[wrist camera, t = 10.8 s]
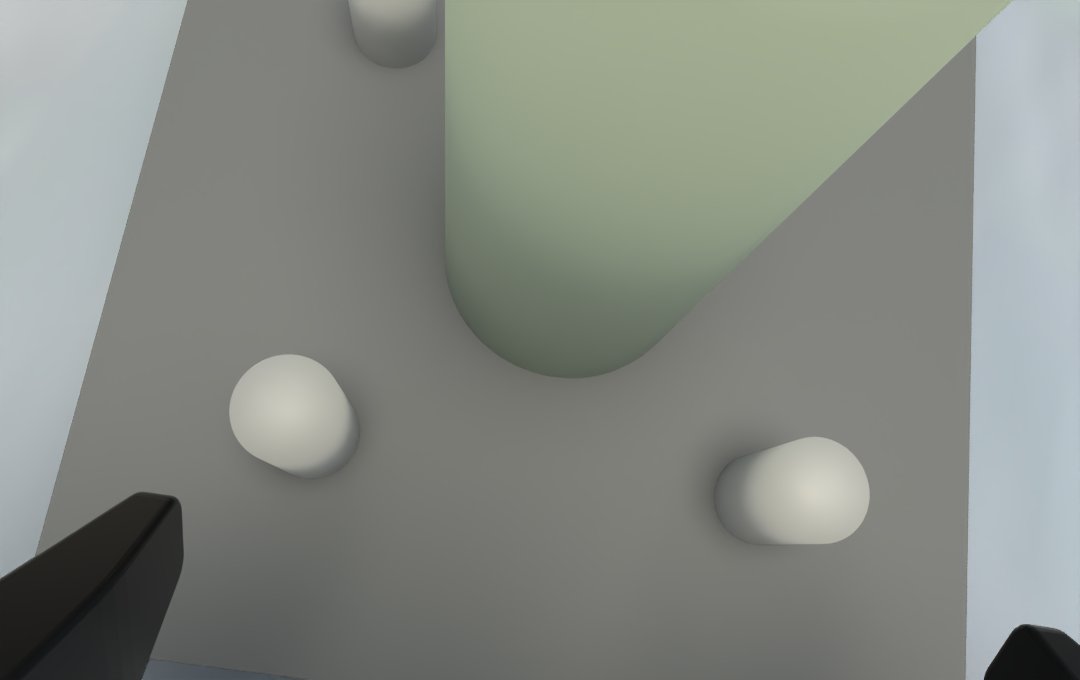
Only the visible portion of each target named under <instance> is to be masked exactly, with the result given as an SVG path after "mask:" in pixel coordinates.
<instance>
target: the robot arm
mask: <svg viewBox="0 0 1080 680" xmlns="http://www.w3.org/2000/svg"><path fill="white" fill-rule="evenodd" d="M183 560H184V542H183V521H182V506H181V503H180V501H179V499H178V498H176V497H174V496H171V495H164V494H157V493H151V492H137V493H135V494H132V495H130V496H129V497H127V498H126V499H124V500H123V501H121V502H120V503H118V504H116V505H115V506H113V507H112V508H110V509H109V510H107V511H105V512H104V513H102V514H101V515H99V516H98V517H96V518H94V519H93V520H91V521H90V522H88V523H87V524H85V525H84V526H82V527H80V528H79V529H77V530H76V531H74V532H73V533H71V534H69V535H68V536H66V537H65V538H63V539H62V540H60V541H59V542H57V543H55V544H54V545H52V546H51V547H49V548H48V549H46V550H44V551H43V552H41V553H40V554H38V555H37V556H35V557H34V558H32V559H30V560H29V561H27V562H26V563H24V564H23V565H21V566H19V567H18V568H16V569H15V570H13V571H12V572H10V573H9V574H7V575H5V576H4V577H2V578H1V579H0V680H142V677H143V674H144V672H145V669H146V666H147V663H148V661H149V658H150V655H151V653H152V650H153V647H154V645H155V642H156V639H157V637H158V634H159V631H160V629H161V626H162V623H163V621H164V618H165V615H166V613H167V610H168V607H169V605H170V602H171V599H172V597H173V594H174V591H175V589H176V586H177V583H178V581H179V578H180V575H181V571H182V566H183ZM984 680H1080V645H1079V644H1078V643H1077V642H1075V641H1074V640H1073V639H1072V638H1071V637H1069V636H1068V635H1067V634H1065V633H1064V632H1062V631H1060V630H1058V629H1055V628H1050V627H1043V626H1036V625H1030V624H1023V625H1020V626H1018V627H1017V628H1015V629H1014V630H1013V631H1012V632H1011V634H1010V635H1009V637H1008V639H1007V640H1006V642H1005V643H1004V645H1003V646H1002V648H1001V649H1000V651H999V652H998V654H997V655H996V657H995V658H994V660H993V661H992V663H991V664H990V666H989V667H988V669H987V671H986V673H985V677H984Z"/></svg>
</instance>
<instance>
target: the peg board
mask: <svg viewBox="0 0 1080 680" xmlns="http://www.w3.org/2000/svg"><path fill="white" fill-rule="evenodd" d="M975 71H976V36H975V37H974V38H973V39H972V40H971V41H970V42H969V43H968V44H967V45H966V46H965V47H964V48H963V49H962V50H961V51H959V52H958V53H957V54H956V55H955V56H954V57H953V58H952V59H951V60H950V61H949V62H948V63H947V64H946V65H945V66H944V67H943V68H942V69H941V70H940V71H939V72H938V73H937V74H936V75H935V76H934V77H933V78H931V79H930V80H929V81H928V82H927V83H926V84H925V85H924V86H923V87H922V88H921V89H920V90H919V91H918V92H917V93H916V94H915V95H914V96H913V97H912V98H911V99H910V100H909V101H908V102H907V103H906V104H904V105H903V106H902V107H901V108H900V109H899V110H898V111H897V112H896V113H895V114H894V115H893V116H892V117H891V118H890V119H889V120H888V121H887V122H886V123H885V124H884V125H883V126H882V127H881V128H880V129H879V130H878V131H876V132H875V133H874V134H873V135H872V136H871V137H870V138H869V139H868V140H867V141H866V142H865V143H864V144H863V145H862V146H861V147H860V148H859V149H858V150H857V151H856V152H855V153H854V154H853V155H852V156H851V157H850V158H848V159H847V160H846V161H845V162H844V163H843V164H842V165H841V166H840V167H839V168H838V169H837V170H836V171H835V172H834V173H833V174H832V175H831V176H830V177H829V178H828V179H827V180H826V181H825V182H824V183H823V184H821V185H820V186H819V187H818V188H817V189H816V190H815V191H814V192H813V193H812V194H811V195H810V196H809V197H808V198H807V199H806V200H805V201H804V202H803V203H802V204H801V205H800V206H799V207H798V208H797V209H796V210H795V211H793V212H792V213H791V214H790V215H789V216H788V217H787V218H786V219H785V220H784V221H783V222H782V223H781V224H780V225H779V226H778V227H777V228H776V229H775V230H774V231H773V232H772V233H771V234H770V235H769V236H768V237H767V238H765V239H764V240H763V241H762V242H761V243H760V244H759V245H758V246H757V247H756V248H755V249H754V250H753V251H752V252H751V253H750V254H749V255H748V256H747V257H746V258H745V259H744V260H743V261H742V262H741V263H740V264H738V265H737V266H736V267H735V268H734V269H733V270H732V271H731V272H730V273H729V274H728V275H727V276H726V277H725V278H724V279H723V280H722V281H721V282H720V283H719V284H718V285H717V286H716V287H715V288H714V289H713V290H712V291H710V292H709V293H708V294H707V295H706V296H705V297H704V298H703V299H702V300H701V301H700V302H699V303H698V304H697V305H696V306H695V307H694V308H693V309H692V310H691V311H690V312H689V313H688V314H687V315H686V316H685V317H684V318H682V319H681V320H680V321H679V322H678V323H677V324H676V325H675V326H674V327H673V328H672V329H671V330H670V331H669V332H668V333H667V334H666V335H665V336H664V337H663V338H662V339H661V340H660V341H659V342H658V343H657V344H655V345H654V346H653V347H652V348H651V349H650V350H649V351H647V352H646V353H645V354H644V355H642V356H641V357H640V358H638V359H636V360H635V361H633V362H631V363H630V364H628V365H626V366H624V367H621V368H619V369H617V370H614V371H612V372H608V373H605V374H601V375H598V376H591V377H584V378H560V377H551V376H546V375H542V374H538V373H534V372H531V371H528V370H526V369H523V368H521V367H518V366H516V365H514V364H512V363H510V362H509V361H507V360H505V359H503V358H502V357H500V356H499V355H497V354H496V353H495V352H493V351H492V350H491V349H489V348H488V347H487V346H486V345H485V344H484V343H483V342H482V341H481V340H480V339H479V338H478V337H477V336H476V335H475V334H474V333H473V331H472V330H471V329H470V328H469V326H468V325H467V324H466V322H465V321H464V319H463V317H462V316H461V314H460V312H459V311H458V309H457V306H456V304H455V302H454V300H453V297H452V295H451V291H450V288H449V284H448V281H447V274H446V267H445V0H188V1H187V5H186V9H185V12H184V16H183V20H182V23H181V27H180V30H179V34H178V38H177V41H176V45H175V49H174V52H173V56H172V60H171V63H170V67H169V71H168V74H167V78H166V82H165V85H164V89H163V92H162V96H161V100H160V103H159V107H158V111H157V114H156V118H155V122H154V125H153V129H152V133H151V136H150V140H149V143H148V147H147V151H146V154H145V158H144V162H143V165H142V169H141V173H140V176H139V180H138V184H137V187H136V191H135V195H134V198H133V202H132V205H131V209H130V213H129V216H128V220H127V224H126V227H125V231H124V235H123V238H122V242H121V246H120V249H119V253H118V256H117V260H116V264H115V267H114V271H113V275H112V278H111V282H110V286H109V289H108V293H107V297H106V300H105V304H104V308H103V311H102V315H101V318H100V322H99V326H98V329H97V333H96V337H95V340H94V344H93V348H92V351H91V355H90V359H89V362H88V366H87V369H86V373H85V377H84V380H83V384H82V388H81V391H80V395H79V399H78V402H77V406H76V410H75V413H74V417H73V420H72V424H71V428H70V431H69V435H68V439H67V442H66V446H65V450H64V453H63V457H62V461H61V464H60V468H59V472H58V475H57V479H56V482H55V486H54V490H53V493H52V497H51V501H50V504H49V508H48V512H47V515H46V519H45V523H44V526H43V530H42V533H41V537H40V541H39V544H38V548H37V552H36V555H35V556H37V555H38V554H40V553H41V552H43V551H44V550H46V549H48V548H49V547H51V546H52V545H54V544H55V543H57V542H59V541H60V540H62V539H63V538H65V537H66V536H68V535H69V534H71V533H73V532H74V531H76V530H77V529H79V528H80V527H82V526H84V525H85V524H87V523H88V522H90V521H91V520H93V519H94V518H96V517H98V516H99V515H101V514H102V513H104V512H105V511H107V510H109V509H110V508H112V507H113V506H115V505H116V504H118V503H120V502H121V501H123V500H124V499H126V498H127V497H129V496H130V495H132V494H135V493H137V492H151V493H157V494H164V495H171V496H174V497H176V498H178V499H179V501H180V503H181V506H182V521H183V542H184V560H183V566H182V571H181V575H180V578H179V581H178V583H177V586H176V589H175V591H174V594H173V597H172V599H171V602H170V605H169V607H168V610H167V613H166V615H165V618H164V621H163V623H162V626H161V629H160V631H159V634H158V637H157V639H156V642H155V645H154V647H153V650H152V653H151V655H150V658H149V659H154V660H161V661H169V662H176V663H184V664H192V665H199V666H207V667H215V668H222V669H230V670H237V671H245V672H253V673H260V674H268V675H275V676H283V677H291V678H298V679H306V680H965V675H966V615H967V554H968V494H969V433H970V373H971V313H972V252H973V192H974V131H975Z"/></svg>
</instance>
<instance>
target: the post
mask: <svg viewBox="0 0 1080 680" xmlns="http://www.w3.org/2000/svg"><path fill="white" fill-rule="evenodd" d="M1011 1H1012V0H445V267H446V274H447V281H448V284H449V288H450V291H451V295H452V297H453V300H454V302H455V304H456V306H457V309H458V311H459V312H460V314H461V316H462V317H463V319H464V321H465V322H466V324H467V325H468V326H469V328H470V329H471V330H472V331H473V333H474V334H475V335H476V336H477V337H478V338H479V339H480V340H481V341H482V342H483V343H484V344H485V345H486V346H487V347H488V348H489V349H491V350H492V351H493V352H495V353H496V354H497V355H499V356H500V357H502V358H503V359H505V360H507V361H509V362H510V363H512V364H514V365H516V366H518V367H521V368H523V369H526V370H528V371H531V372H534V373H538V374H542V375H546V376H551V377H560V378H584V377H591V376H598V375H601V374H605V373H608V372H612V371H614V370H617V369H619V368H621V367H624V366H626V365H628V364H630V363H631V362H633V361H635V360H636V359H638V358H640V357H641V356H642V355H644V354H645V353H646V352H647V351H649V350H650V349H651V348H652V347H653V346H654V345H655V344H657V343H658V342H659V341H660V340H661V339H662V338H663V337H664V336H665V335H666V334H667V333H668V332H669V331H670V330H671V329H672V328H673V327H674V326H675V325H676V324H677V323H678V322H679V321H680V320H681V319H682V318H684V317H685V316H686V315H687V314H688V313H689V312H690V311H691V310H692V309H693V308H694V307H695V306H696V305H697V304H698V303H699V302H700V301H701V300H702V299H703V298H704V297H705V296H706V295H707V294H708V293H709V292H710V291H712V290H713V289H714V288H715V287H716V286H717V285H718V284H719V283H720V282H721V281H722V280H723V279H724V278H725V277H726V276H727V275H728V274H729V273H730V272H731V271H732V270H733V269H734V268H735V267H736V266H737V265H738V264H740V263H741V262H742V261H743V260H744V259H745V258H746V257H747V256H748V255H749V254H750V253H751V252H752V251H753V250H754V249H755V248H756V247H757V246H758V245H759V244H760V243H761V242H762V241H763V240H764V239H765V238H767V237H768V236H769V235H770V234H771V233H772V232H773V231H774V230H775V229H776V228H777V227H778V226H779V225H780V224H781V223H782V222H783V221H784V220H785V219H786V218H787V217H788V216H789V215H790V214H791V213H792V212H793V211H795V210H796V209H797V208H798V207H799V206H800V205H801V204H802V203H803V202H804V201H805V200H806V199H807V198H808V197H809V196H810V195H811V194H812V193H813V192H814V191H815V190H816V189H817V188H818V187H819V186H820V185H821V184H823V183H824V182H825V181H826V180H827V179H828V178H829V177H830V176H831V175H832V174H833V173H834V172H835V171H836V170H837V169H838V168H839V167H840V166H841V165H842V164H843V163H844V162H845V161H846V160H847V159H848V158H850V157H851V156H852V155H853V154H854V153H855V152H856V151H857V150H858V149H859V148H860V147H861V146H862V145H863V144H864V143H865V142H866V141H867V140H868V139H869V138H870V137H871V136H872V135H873V134H874V133H875V132H876V131H878V130H879V129H880V128H881V127H882V126H883V125H884V124H885V123H886V122H887V121H888V120H889V119H890V118H891V117H892V116H893V115H894V114H895V113H896V112H897V111H898V110H899V109H900V108H901V107H902V106H903V105H904V104H906V103H907V102H908V101H909V100H910V99H911V98H912V97H913V96H914V95H915V94H916V93H917V92H918V91H919V90H920V89H921V88H922V87H923V86H924V85H925V84H926V83H927V82H928V81H929V80H930V79H931V78H933V77H934V76H935V75H936V74H937V73H938V72H939V71H940V70H941V69H942V68H943V67H944V66H945V65H946V64H947V63H948V62H949V61H950V60H951V59H952V58H953V57H954V56H955V55H956V54H957V53H958V52H959V51H961V50H962V49H963V48H964V47H965V46H966V45H967V44H968V43H969V42H970V41H971V40H972V39H973V38H974V37H975V36H976V35H977V34H978V33H979V32H980V31H981V30H982V29H983V28H984V27H985V26H986V25H987V24H989V23H990V22H991V21H992V20H993V19H994V18H995V17H996V16H997V15H998V14H999V13H1000V12H1001V11H1002V10H1003V9H1004V8H1005V7H1006V6H1007V5H1008V4H1009V3H1010V2H1011Z"/></svg>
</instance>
